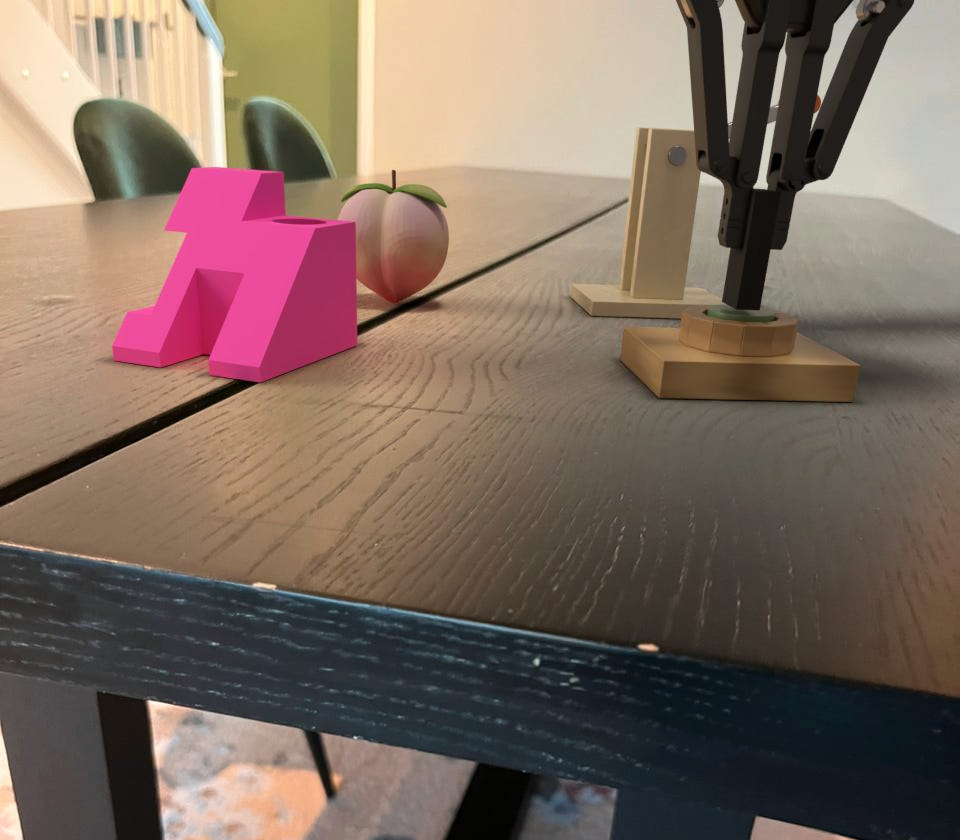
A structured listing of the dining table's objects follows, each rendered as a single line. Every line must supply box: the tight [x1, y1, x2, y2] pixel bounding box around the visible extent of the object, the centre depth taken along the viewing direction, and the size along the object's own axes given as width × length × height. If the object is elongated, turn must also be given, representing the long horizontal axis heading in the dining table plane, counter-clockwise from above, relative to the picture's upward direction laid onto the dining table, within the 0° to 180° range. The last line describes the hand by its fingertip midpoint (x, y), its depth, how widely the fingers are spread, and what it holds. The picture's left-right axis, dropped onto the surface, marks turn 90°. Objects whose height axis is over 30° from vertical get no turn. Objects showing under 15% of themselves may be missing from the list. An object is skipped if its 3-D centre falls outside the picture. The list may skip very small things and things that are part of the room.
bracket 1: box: [111, 166, 358, 383], centre depth 60 cm, size 12×10×10 cm
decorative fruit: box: [337, 169, 450, 304], centre depth 79 cm, size 9×8×10 cm
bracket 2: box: [570, 126, 725, 320], centre depth 81 cm, size 12×9×14 cm
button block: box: [619, 305, 862, 403], centre depth 61 cm, size 12×10×4 cm
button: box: [707, 304, 774, 322], centre depth 61 cm, size 4×4×2 cm
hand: (740, 305), depth 60 cm, fingers closed
